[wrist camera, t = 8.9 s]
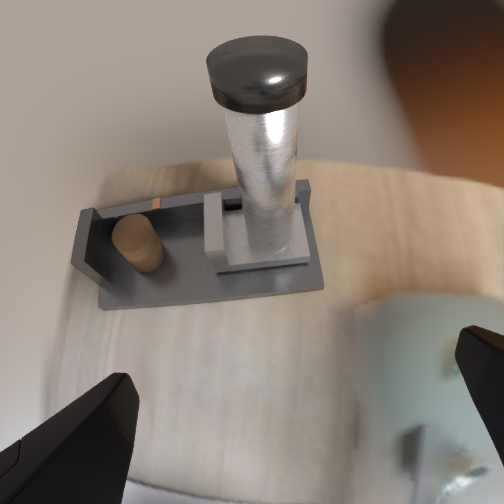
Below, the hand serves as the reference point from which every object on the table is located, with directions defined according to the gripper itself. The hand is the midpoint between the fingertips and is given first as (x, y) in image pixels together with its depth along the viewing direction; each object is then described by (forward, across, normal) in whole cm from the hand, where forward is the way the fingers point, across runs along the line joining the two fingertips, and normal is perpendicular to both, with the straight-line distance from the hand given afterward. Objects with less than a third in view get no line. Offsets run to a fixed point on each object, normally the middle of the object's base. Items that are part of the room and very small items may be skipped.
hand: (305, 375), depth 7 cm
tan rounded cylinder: (+16, +10, +2) cm, 19 cm away
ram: (+16, +1, +1) cm, 16 cm away
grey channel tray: (+17, +5, +2) cm, 18 cm away
